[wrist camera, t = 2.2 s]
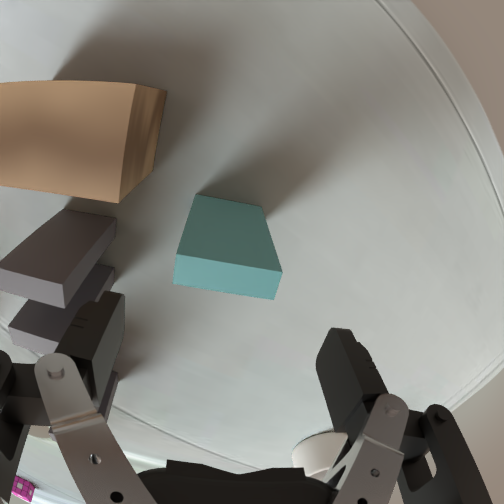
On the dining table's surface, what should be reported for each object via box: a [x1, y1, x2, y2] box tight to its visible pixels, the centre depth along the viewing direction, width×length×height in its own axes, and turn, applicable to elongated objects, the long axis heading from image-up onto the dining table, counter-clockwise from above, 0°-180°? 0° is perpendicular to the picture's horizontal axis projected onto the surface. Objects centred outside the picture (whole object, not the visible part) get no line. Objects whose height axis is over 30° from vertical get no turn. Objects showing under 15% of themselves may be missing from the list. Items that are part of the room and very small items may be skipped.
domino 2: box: [8, 264, 114, 355], centre depth 21 cm, size 2×5×10 cm, turn 77°
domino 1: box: [0, 209, 116, 309], centre depth 19 cm, size 2×5×10 cm, turn 77°
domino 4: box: [172, 194, 283, 300], centre depth 19 cm, size 2×5×10 cm, turn 77°
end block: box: [0, 80, 167, 203], centre depth 16 cm, size 6×10×8 cm, turn 77°
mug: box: [291, 432, 348, 481], centre depth 39 cm, size 12×10×6 cm
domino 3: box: [49, 371, 118, 442], centre depth 26 cm, size 2×5×10 cm, turn 77°
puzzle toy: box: [12, 476, 35, 502], centre depth 50 cm, size 6×6×6 cm
